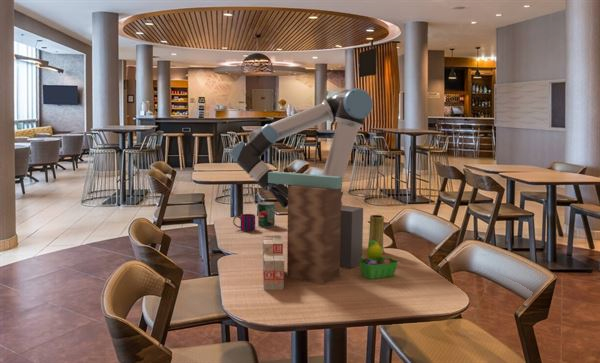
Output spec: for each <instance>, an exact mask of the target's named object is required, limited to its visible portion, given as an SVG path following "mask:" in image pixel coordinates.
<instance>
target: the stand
mask: <svg viewBox="0 0 600 363" xmlns="http://www.w3.org/2000/svg"><path fill="white" fill-rule="evenodd" d="M287 188H288V199H287V200H288V210H287V243H286V244H287V248H286V249H287V252H286V254H287V258H286V260H287V262H286V263H287V264H286V265H287V267H286V268H287V269H286V270H287V273H286V277H287V278H290V279H295V280H299V279H300V281H304V282H309V283H315V284H320V285H327V284H329V283H331V282H332V281H334V280H336V279H337V278H340V276H341V275H340V274H341V272H340V271H341V267H340V228H341V201H342V199H341V188H339V189H331V188H320V187H309V186H298V185H288V186H287Z"/></svg>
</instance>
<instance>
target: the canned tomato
mask: <svg viewBox="0 0 600 363" xmlns="http://www.w3.org/2000/svg"><path fill="white" fill-rule="evenodd" d="M275 208H276V206H275V202H274V201H259V202H257V221H258V222H257V223H258V224H257V226H258V227H259V226H261V228H271V227H270V226H274V225H275V221H276V220H275V214H276V213H275V212H276V211H275V210H276V209H275ZM274 227H275V226H274Z"/></svg>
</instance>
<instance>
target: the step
mask: <svg viewBox="0 0 600 363" xmlns="http://www.w3.org/2000/svg"><path fill="white" fill-rule="evenodd" d="M363 232H364V207H358V206H349V205H343V204H342V205H341V228H340V268H347V269H353V268H355V267H357V266H359V265H360V263H359V260H361V259H363V241H364V240H363V238H364V237H363V236H364V233H363Z"/></svg>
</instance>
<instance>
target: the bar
mask: <svg viewBox="0 0 600 363" xmlns="http://www.w3.org/2000/svg"><path fill="white" fill-rule="evenodd" d="M268 183H276V184H283V185H288V186H291V185H298V186H309V187H320V188H331V189H339V188H342V189H343V182H342V177H339V176H326V175H323V174H313V173H312V174H311V173H298V172H283V171H273V172H268Z"/></svg>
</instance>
